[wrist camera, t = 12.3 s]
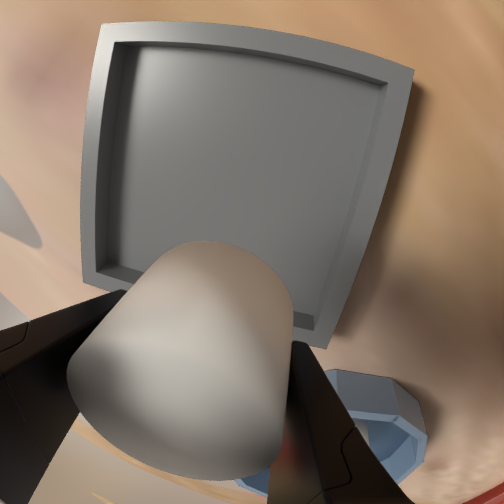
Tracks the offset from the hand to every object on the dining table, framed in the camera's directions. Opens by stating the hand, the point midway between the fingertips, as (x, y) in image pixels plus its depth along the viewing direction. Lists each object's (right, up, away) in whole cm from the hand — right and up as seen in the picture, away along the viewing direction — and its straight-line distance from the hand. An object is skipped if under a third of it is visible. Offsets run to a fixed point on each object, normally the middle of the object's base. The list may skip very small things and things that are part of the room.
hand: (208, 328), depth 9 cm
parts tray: (0, +7, +9) cm, 11 cm away
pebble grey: (0, 0, +1) cm, 1 cm away
